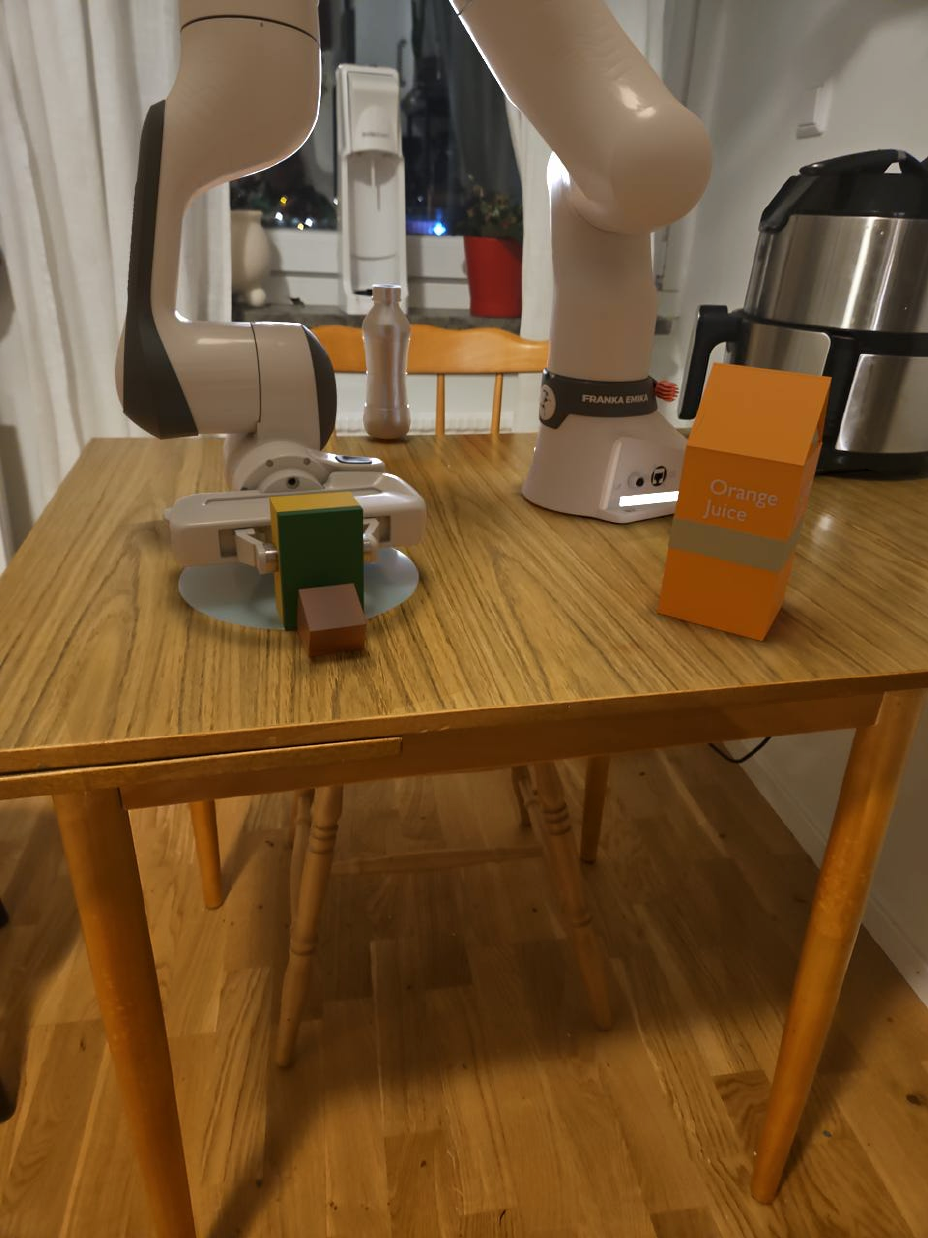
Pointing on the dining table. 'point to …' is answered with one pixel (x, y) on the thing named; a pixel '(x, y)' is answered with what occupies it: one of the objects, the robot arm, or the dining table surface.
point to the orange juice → (743, 497)
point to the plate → (252, 595)
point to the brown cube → (330, 620)
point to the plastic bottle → (386, 365)
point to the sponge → (316, 546)
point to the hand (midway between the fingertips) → (320, 558)
